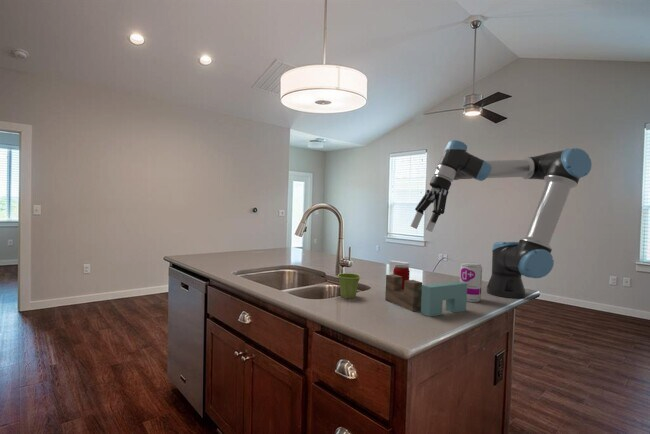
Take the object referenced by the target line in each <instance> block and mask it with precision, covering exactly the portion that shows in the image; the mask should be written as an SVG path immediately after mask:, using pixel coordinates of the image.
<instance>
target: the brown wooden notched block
mask: <svg viewBox="0 0 650 434" xmlns="http://www.w3.org/2000/svg"><path fill="white" fill-rule="evenodd" d="M422 285H423V282H422V281H419V280H416V279H415V280H414V279H409V280H405V281H404V290H402V276H398V275H395V274H392V275H389V274H386V275H385V297H384V298H385V301H387V302H389V303H392V304H394V305H396V306H399V307H401V308H404V309H406V310H409V311H411V312H417V311H421V297H422Z"/></svg>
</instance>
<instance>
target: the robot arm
mask: <svg viewBox="0 0 650 434" xmlns="http://www.w3.org/2000/svg"><path fill="white" fill-rule="evenodd" d="M467 149H468V145H467V144H466V143H465V142H463V141H461V140H457V139H451V140H450V141H448V143H447V144H446V146H445V148H444V150H443V152H442V155H441V157H440V160H439V162H438V164H437V166H436V167H435V171H434V173H433V176H432V178H431V180H430V182H429V186H430V187H431V189H430V190H429V189H427V190H426V191H425V193H424V195H423V196H422V198H421V199H420V201H419V202H418V204H417V205H416V206H415V209H414V210H415V211H416V212H415V215H414V216H413V219H412V222H411V223H410V227H411V228H413V229H416V230H417V229H418V227H419V225H420V222H421V220H422V219H423V215H424V213H425V211H426V210H427V209H428V207H429V206H430V205H431V204H433V210H432V212H431V214H430V216H429V218H428V221H427V223H426V226H425V228H424V230H426V231H428V232H430V233H432V232H433V231H434V229H435V226H436V224H437V222H438V219H439V217H440V216H441V215H444V214H445V209H446V204H447V199H448V194H449V190H450V188H451V186H452V182H453V181H458V180H472V179H473V180H476V181H480V182H483V181H485V180H486V179H503V178H522V179H524V180H544V181H545V183H546V184H545V186H544V189H543V191H542V193H541V196H540V197H539V198H540V199H539V201H538V203H537V206H536V208H535V212H534V214H533V217H532V219H531V222H530V224H529V226H528V229H527V231H526V235H525V236H524V237H522V238H519V241H499V242H494V243H493V245H492V250H491V251H492V253H491V254H492V257H491V260H492V261H491V276H490V278H489V280H488V284H487V286H486V292H487V294H491V295H493V296H497V297H502V298H510V299H511V298H512V299H522V298H525V297H526V290H525V287H524V282H523V280H522V279H523V278H522V276H524V277H526V278H531V279H541V278H544V277H546V276H547V275H549V273H551V271H552V270H553V268H554V264H555V262H554V257H553V255H552V254H551V253H552V249H553V248H552V247H551V240H552V237H553V235H554V233H555V231H556V227H557V224H558V223H559V220H560V217H561V216H562V213H563V209H564V207H565V205H566V202H567V199H568V197H569V194H570V191H571V189H573V188H575V187H577V186H578V183H579V181H580V178H584V177H586V176H587V175H589V173H591V170H592V164H593V163H592V159H591V158H590V155H589V153H588V152H586V151H585V150H583V149H581V148H577V147H575V148H566V149H564V150H557V151H552V152H547V153H544V154H539V155H535V156H526V157H523V158H522V159H500V160H484V159H481V158H479V157H478V156H475V155H473V154H472V153H469V152H468V151H467Z"/></svg>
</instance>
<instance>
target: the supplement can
mask: <svg viewBox="0 0 650 434" xmlns="http://www.w3.org/2000/svg"><path fill="white" fill-rule="evenodd" d="M482 277H483V267H482V265H481V263H480V262H479V263H478V262H472V261H463V262H462V263H461V264H460V268H459V281H460V282H464V283H467V301H466V303H467V302H469V303H478V302H480V301H482V282H483V281H482V279H483V278H482Z"/></svg>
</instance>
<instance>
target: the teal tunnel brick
mask: <svg viewBox="0 0 650 434" xmlns="http://www.w3.org/2000/svg"><path fill="white" fill-rule="evenodd" d="M443 301H445V310H446V311H449V312H452V313H460V312H466V311H467V283H464V282H460V280H459V281H458V280H457V281H449V282H438V283H430V284H429V283H428V284H422V297H421V310H420V314H421V315H424V316H426V317H435V316H442V315H443Z"/></svg>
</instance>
